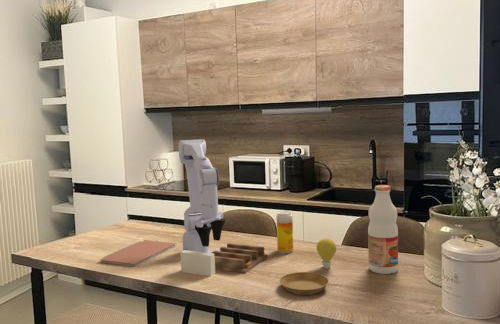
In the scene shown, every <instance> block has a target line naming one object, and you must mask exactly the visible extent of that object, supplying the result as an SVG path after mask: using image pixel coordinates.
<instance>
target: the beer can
mask: <svg viewBox="0 0 500 324" xmlns="http://www.w3.org/2000/svg"><path fill="white" fill-rule="evenodd" d="M293 225H294V222H293V214H292V212H291V211H278V212H276V238H277V240H276V242H277V248H276V249H277V251H278V253H280V254H291V253H292V252H293V251H294V226H293Z"/></svg>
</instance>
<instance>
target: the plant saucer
mask: <svg viewBox="0 0 500 324" xmlns="http://www.w3.org/2000/svg"><path fill="white" fill-rule="evenodd" d="M279 283H280V284H281V286H282V287H283V288H284V289H285V290H287V292H289V293H291V294H293V295H294V294H295V295H302V296H308V295H315V294H318V293H320V292H322V291H323V290H324V289H326V287H327V286H328V285H329V283H330V280H329V278H327V276H325V275H323V274H321V273H316V272H311V271H310V272H309V271H308V272H307V271H299V272H292V273H287V274H284V275H283V276H281V277H280V278H279Z"/></svg>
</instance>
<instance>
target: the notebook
mask: <svg viewBox="0 0 500 324" xmlns="http://www.w3.org/2000/svg"><path fill="white" fill-rule="evenodd" d="M176 245H177V243H176V242H168V241H158V240H156V241H155V240H149V239H148V240H146V239H144V240H143V241H138V242H136V243H134V244H130V245H129V246H126V247H124V248H121V249H119V250H117V251H115V252H112V253H110V254H107V255H105V256H103V257H102V258H101V259H99V261H100V263H102V264H103V263H104V264H110V265H120V266H124V267H125V266H126V267H133V268H134V267H137V266H139V265H141V264H143V263H146V262H148V261H149V260H151V259H153V258H155V257H157V256H159V255H160V254H163V253H165V252H166V251H168V250H170V249H173V248H174V247H175V246H176Z"/></svg>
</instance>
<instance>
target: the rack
mask: <svg viewBox="0 0 500 324" xmlns="http://www.w3.org/2000/svg"><path fill="white" fill-rule="evenodd" d="M212 253H213V254H214V257H215V270H220V271H228V272H235V273H241V274H246V273H248V272H249V271H250V270H252V269H254V268H255V267H256V266H257V265H259V264H261V263H262V262H263V261H264V260H266V259H268V254H267V253H266V254H265V246H259V245H251V244H250V245H248V244H241V243H238V244H237V243H230V242H229V243H226V246H220V247H219V250H213V252H212Z"/></svg>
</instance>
